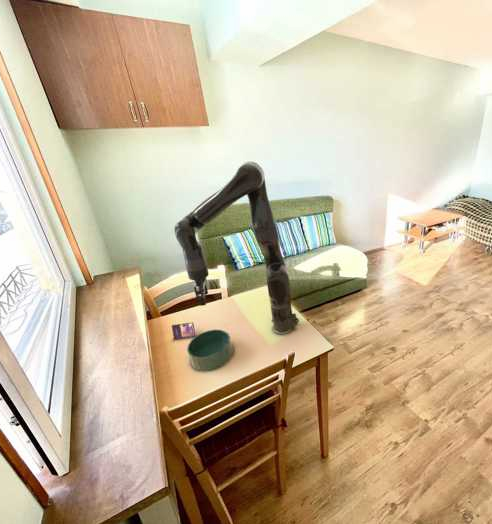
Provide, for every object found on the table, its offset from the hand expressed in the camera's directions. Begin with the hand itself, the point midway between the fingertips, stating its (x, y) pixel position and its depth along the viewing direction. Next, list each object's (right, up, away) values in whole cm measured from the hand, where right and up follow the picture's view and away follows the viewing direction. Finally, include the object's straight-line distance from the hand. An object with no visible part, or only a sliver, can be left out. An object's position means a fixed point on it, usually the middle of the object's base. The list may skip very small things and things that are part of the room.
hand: (204, 299), depth 119 cm
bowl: (+5, -23, -2) cm, 24 cm away
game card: (-13, -18, +9) cm, 24 cm away
